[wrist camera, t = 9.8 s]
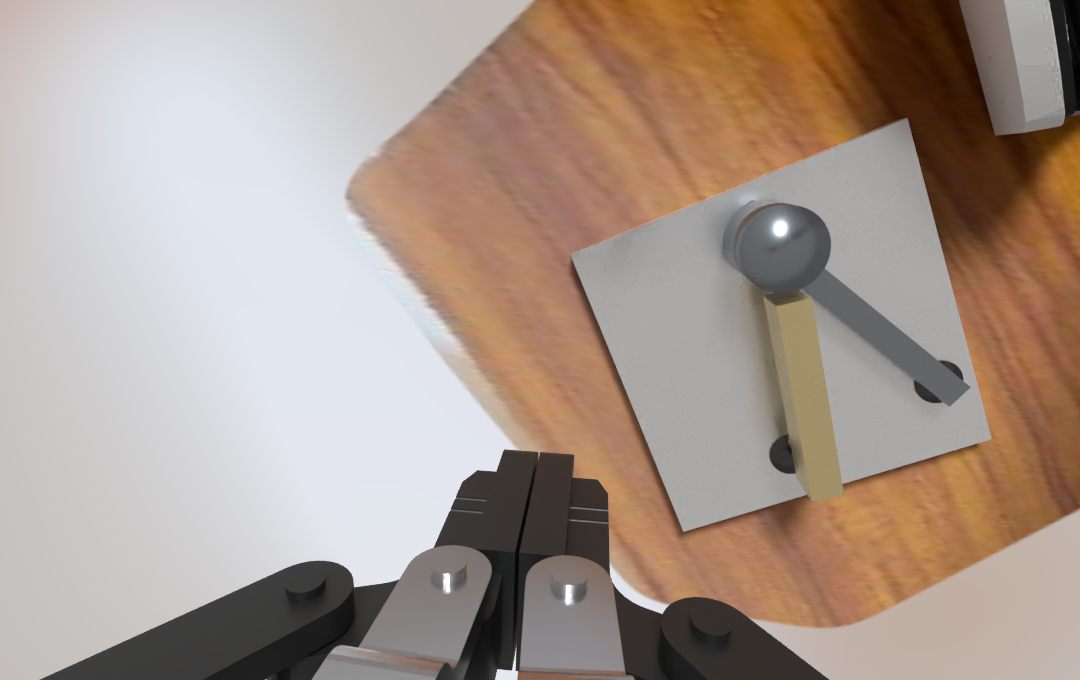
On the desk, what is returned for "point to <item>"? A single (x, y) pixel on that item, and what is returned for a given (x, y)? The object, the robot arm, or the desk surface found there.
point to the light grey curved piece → (1026, 60)
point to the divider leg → (804, 393)
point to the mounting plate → (744, 337)
